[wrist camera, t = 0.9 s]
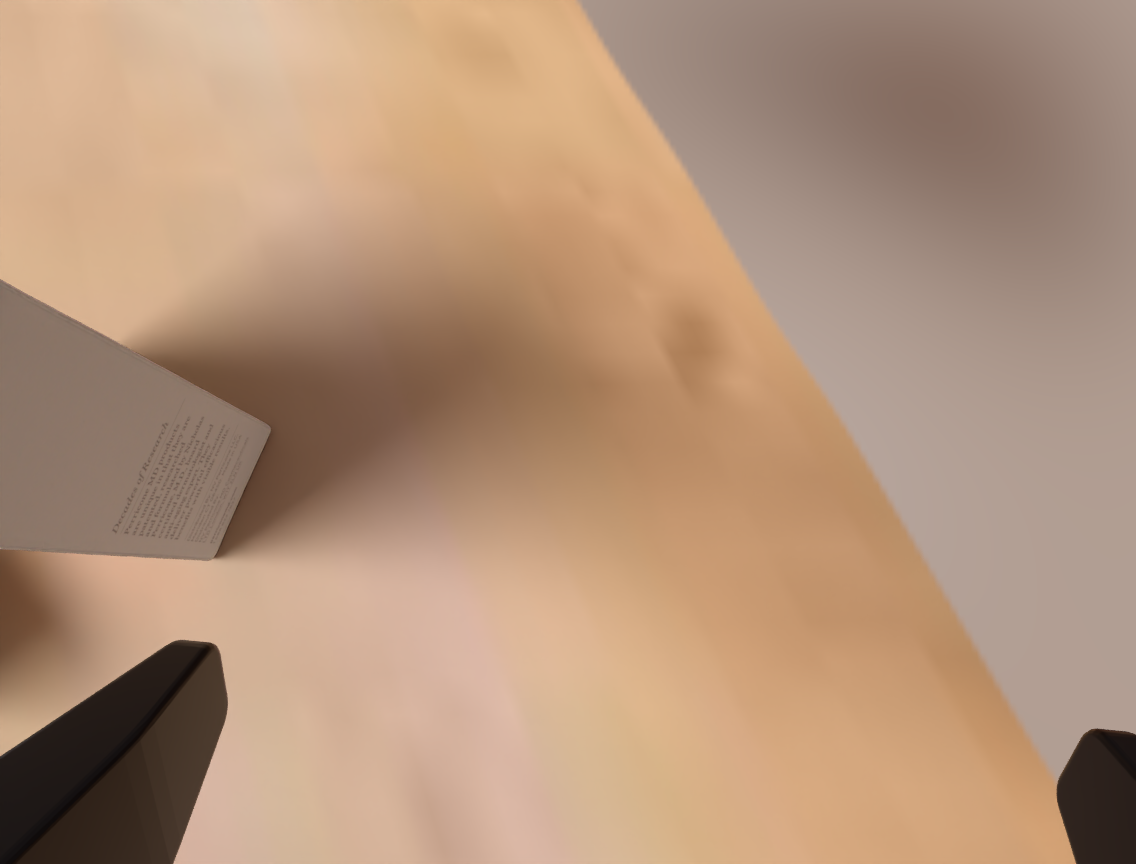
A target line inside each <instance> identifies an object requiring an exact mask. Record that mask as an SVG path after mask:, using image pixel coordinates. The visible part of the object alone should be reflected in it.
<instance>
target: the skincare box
mask: <svg viewBox="0 0 1136 864" xmlns="http://www.w3.org/2000/svg"><path fill="white" fill-rule="evenodd" d="M270 432H271V428H270V426H269V425H268V424H266V423H264V422H262V421H261V420H259V419H257V418H255V417H253V416H252V415H250V414H248V413H246V412H244V411H242V410H240V409H238V408H236V407H235V406H233V405H231V404H229V403H227V402H225V401H224V400H222V399H220V398H218V397H216V396H214V395H213V394H211V393H209V392H207V391H205V390H203V389H201V388H200V387H198V386H196V385H194V384H192V383H190V382H189V381H187V380H185V379H183V378H182V377H180V376H178V375H176V374H174V373H173V372H171V371H169V370H167V369H165V368H163V367H162V366H160V365H158V364H156V363H154V362H152V361H151V360H149V359H147V358H145V357H143V356H141V355H139V354H138V353H136V352H134V351H132V350H130V349H128V348H127V347H125V346H123V345H121V344H119V343H118V342H116V341H114V340H112V339H110V338H109V337H107V336H105V335H103V334H101V333H99V332H97V331H96V330H94V329H92V328H90V327H88V326H86V325H84V324H82V323H80V322H78V321H77V320H75V319H73V318H71V317H69V316H67V315H65V314H63V313H61V312H59V311H58V310H56V309H54V308H52V307H50V306H49V305H47V304H45V303H43V302H41V301H39V300H37V299H35V298H33V297H32V296H30V295H28V294H26V293H24V292H22V291H21V290H19V289H17V288H15V287H13V286H12V285H10V284H8V283H6V282H4V281H3V280H1V279H0V549H7V550H27V551H43V552H60V553H75V554H90V555H110V556H133V557H144V558H163V559H183V560H202V561H209V560H211V559H212V558H213V557H214V556H215V555H216V553H217V552H218V549H219V547H220V544H221V542H222V540H223V537H224V535H225V533H226V530H227V528H228V525H229V523H230V521H231V519H232V516H233V514H234V512H235V510H236V507H237V505H238V503H239V501H240V498H241V496H242V494H243V491H244V489H245V487H246V485H247V483H248V480H249V478H250V476H251V474H252V472H253V470H254V468H255V465H256V463H257V461H258V459H259V457H260V454H261V452H262V450H263V448H264V446H265V443H266V441H267V439H268V437H269V435H270Z"/></svg>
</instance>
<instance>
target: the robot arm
mask: <svg viewBox="0 0 1136 864" xmlns="http://www.w3.org/2000/svg"><path fill="white" fill-rule="evenodd" d="M227 708H228V698H227V691H226V685H225V679H224V673H223V667H222V661H221V655H220V652H219V649H218V648H217V646H216V645H215V644H212V643H209V642H198V641H188V640H177V641H174V642H172V643H170V644H168V645H166V646H165V647H163V648H162V649H160V650H159V651H157V652H156V653H154V654H153V655H151V656H150V657H148V658H147V659H145V660H144V661H142V662H141V663H139V664H138V665H136V666H135V667H133V668H132V669H130V670H129V671H127V672H126V673H124V674H123V675H121V676H120V677H118V678H117V679H115V680H114V681H112V682H111V683H109V684H108V685H106V686H105V687H103V688H102V689H100V690H99V691H97V692H96V693H94V694H93V695H91V696H90V697H89V698H87V699H86V700H84V701H83V702H81V703H80V704H78V705H77V706H75V707H74V708H72V709H71V710H69V711H68V712H66V713H65V714H63V715H62V716H60V717H59V718H57V719H56V720H54V721H53V722H51V723H50V724H48V725H47V726H45V727H44V728H42V729H41V730H39V731H38V732H36V733H35V734H33V735H32V736H30V737H29V738H27V739H26V740H24V741H23V742H21V743H20V744H18V745H17V746H15V747H14V748H12V749H11V750H9V751H8V752H6V753H5V754H3V755H2V756H0V864H173V863H174V860H175V857H176V855H177V852H178V850H179V847H180V845H181V842H182V839H183V836H184V834H185V831H186V828H187V825H188V823H189V820H190V817H191V814H192V811H193V809H194V806H195V803H196V800H197V798H198V795H199V792H200V789H201V787H202V784H203V781H204V778H205V776H206V773H207V770H208V767H209V764H210V762H211V759H212V756H213V753H214V751H215V748H216V745H217V742H218V740H219V737H220V734H221V731H222V729H223V726H224V723H225V719H226V715H227ZM1057 802H1058V806H1059V810H1060V813H1061V816H1062V819H1063V823H1064V826H1065V829H1066V832H1067V835H1068V839H1069V842H1070V845H1071V848H1072V851H1073V855H1074V858H1075V861H1076V864H1136V735H1135V734H1133V733H1130V732H1125V731H1115V730H1105V729H1091V730H1089V731H1088V732H1086V733H1085V734H1084V735H1083V736H1082V738H1081V740H1080V741H1079V743H1078V745H1077V747H1076V749H1075V750H1074V752H1073V754H1072V756H1071V757H1070V759H1069V761H1068V763H1067V765H1066V767H1065V768H1064V770H1063V772H1062V774H1061V775H1060V778H1059V780H1058V784H1057Z"/></svg>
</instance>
